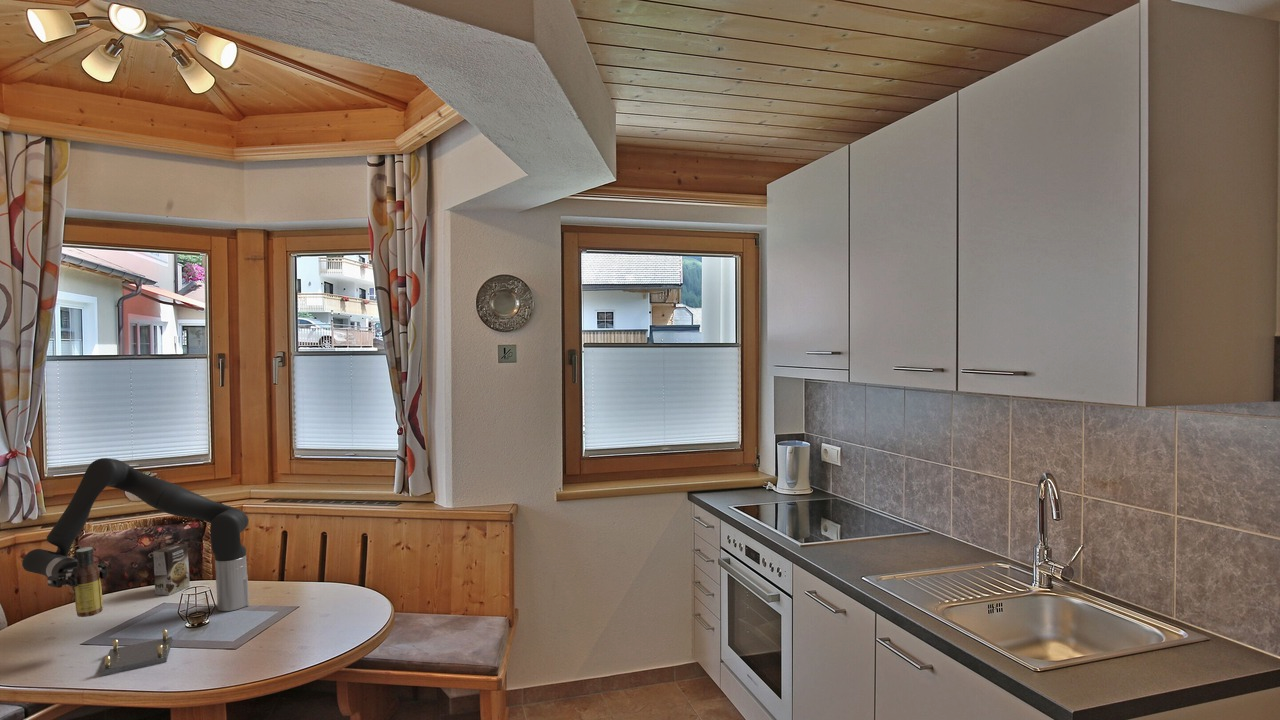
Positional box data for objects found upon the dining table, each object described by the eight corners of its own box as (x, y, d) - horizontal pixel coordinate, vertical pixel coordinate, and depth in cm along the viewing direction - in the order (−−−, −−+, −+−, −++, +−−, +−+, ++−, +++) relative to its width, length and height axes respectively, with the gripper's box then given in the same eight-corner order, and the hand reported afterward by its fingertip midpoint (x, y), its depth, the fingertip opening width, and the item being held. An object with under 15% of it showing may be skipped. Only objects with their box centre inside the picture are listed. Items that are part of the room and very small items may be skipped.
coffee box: (169, 595, 245) (166, 551, 244) (154, 594, 246) (152, 551, 245) (190, 586, 254) (188, 544, 253) (176, 585, 255) (174, 543, 254)
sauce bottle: (86, 610, 204) (82, 545, 203) (108, 608, 205) (104, 544, 204) (70, 619, 198) (65, 552, 197) (92, 618, 198) (88, 551, 197)
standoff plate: (172, 641, 207) (171, 627, 207) (166, 661, 194) (165, 646, 194) (110, 654, 200) (109, 639, 200) (100, 676, 187) (99, 660, 186)
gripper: (35, 565, 202) (59, 574, 193) (93, 551, 214) (118, 559, 206) (37, 590, 202) (61, 600, 194) (95, 574, 214) (119, 583, 206)
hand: (90, 579), depth 200 cm, fingers closed on sauce bottle, 6 cm apart
